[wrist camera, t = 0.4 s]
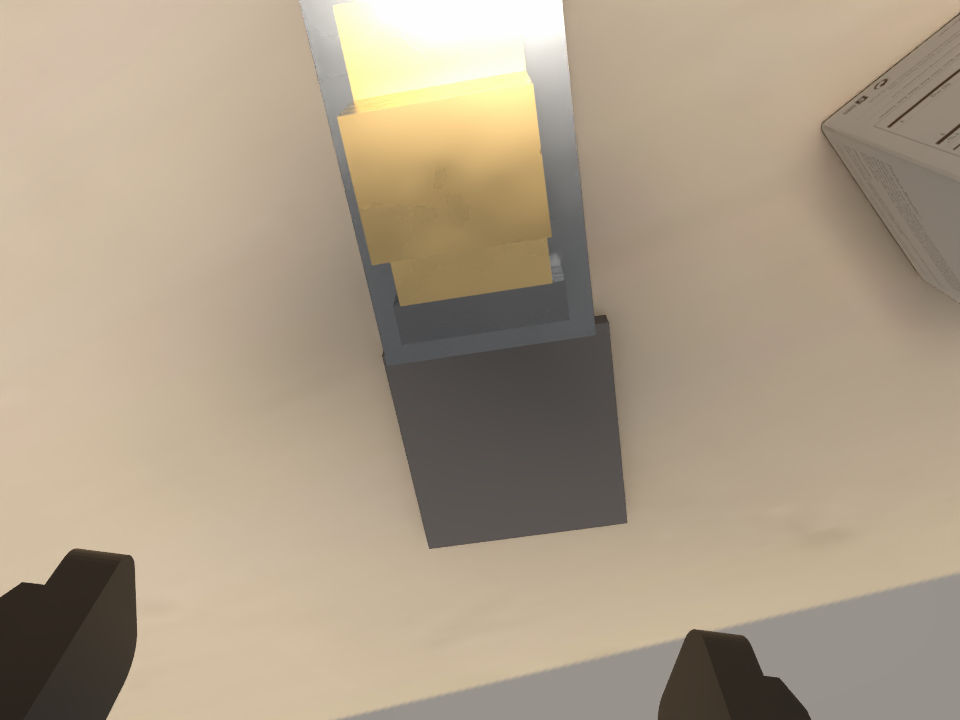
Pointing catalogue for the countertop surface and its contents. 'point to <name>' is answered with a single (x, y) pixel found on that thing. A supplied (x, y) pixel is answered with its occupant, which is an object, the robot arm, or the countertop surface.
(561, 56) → the grey block holder tray
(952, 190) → the supplement box
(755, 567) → the countertop surface
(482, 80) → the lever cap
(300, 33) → the countertop surface
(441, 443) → the rubber mat
